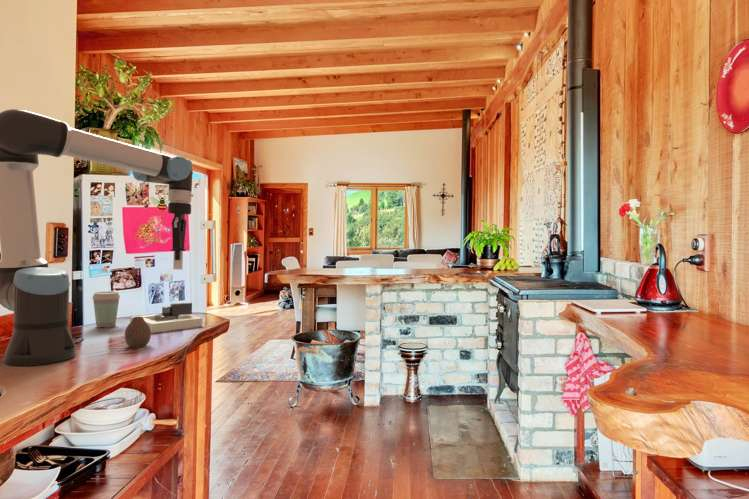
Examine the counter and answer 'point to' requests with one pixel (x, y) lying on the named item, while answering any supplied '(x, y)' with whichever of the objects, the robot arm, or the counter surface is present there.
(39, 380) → the counter surface
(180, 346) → the counter surface
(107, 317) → the coffee cup
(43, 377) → the counter surface
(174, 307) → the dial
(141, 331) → the vase
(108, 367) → the counter surface
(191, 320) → the dial board
